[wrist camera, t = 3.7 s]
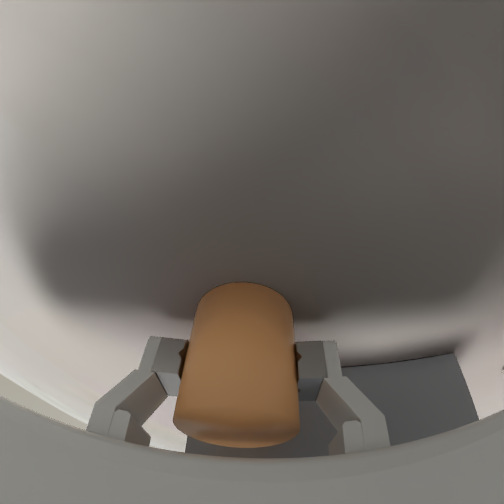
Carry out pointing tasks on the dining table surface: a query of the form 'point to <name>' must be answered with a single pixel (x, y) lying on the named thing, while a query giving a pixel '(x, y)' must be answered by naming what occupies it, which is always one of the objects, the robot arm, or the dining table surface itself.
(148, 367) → the robot arm
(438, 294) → the dining table surface
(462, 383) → the housing
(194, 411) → the brown wide rounded part
